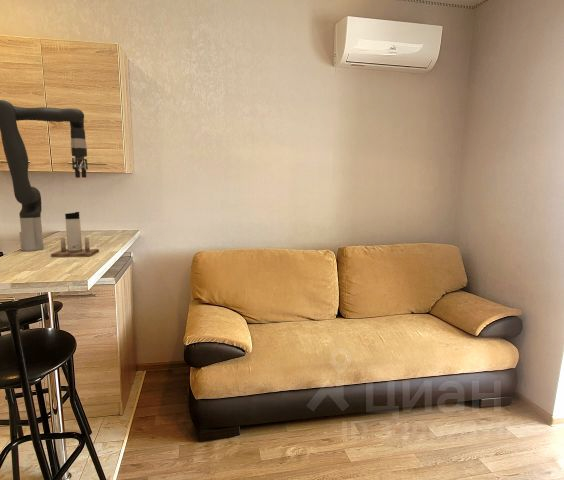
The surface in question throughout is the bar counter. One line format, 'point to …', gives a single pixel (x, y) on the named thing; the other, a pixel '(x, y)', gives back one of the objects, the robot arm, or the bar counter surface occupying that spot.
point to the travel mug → (73, 232)
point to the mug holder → (84, 253)
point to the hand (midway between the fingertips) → (81, 177)
